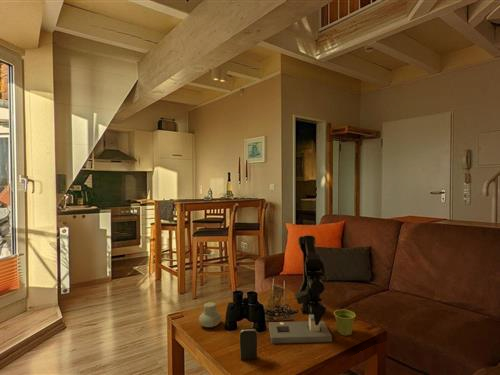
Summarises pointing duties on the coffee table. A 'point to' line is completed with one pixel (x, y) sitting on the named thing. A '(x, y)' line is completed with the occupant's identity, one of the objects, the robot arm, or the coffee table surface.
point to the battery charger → (248, 343)
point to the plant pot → (344, 321)
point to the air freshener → (210, 315)
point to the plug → (313, 324)
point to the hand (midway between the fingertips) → (314, 320)
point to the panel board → (297, 332)
